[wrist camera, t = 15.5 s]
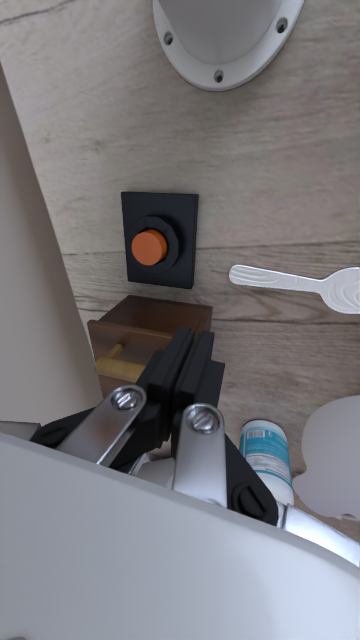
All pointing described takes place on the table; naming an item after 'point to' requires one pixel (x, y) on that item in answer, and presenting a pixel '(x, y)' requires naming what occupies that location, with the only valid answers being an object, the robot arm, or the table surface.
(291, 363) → the table surface
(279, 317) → the table surface
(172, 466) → the elbow connector
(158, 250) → the button
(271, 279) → the spoon
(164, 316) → the tea box
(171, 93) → the table surface
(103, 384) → the lid
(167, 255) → the switch block
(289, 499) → the pill bottle
